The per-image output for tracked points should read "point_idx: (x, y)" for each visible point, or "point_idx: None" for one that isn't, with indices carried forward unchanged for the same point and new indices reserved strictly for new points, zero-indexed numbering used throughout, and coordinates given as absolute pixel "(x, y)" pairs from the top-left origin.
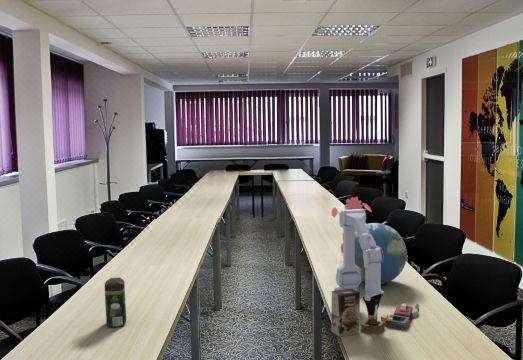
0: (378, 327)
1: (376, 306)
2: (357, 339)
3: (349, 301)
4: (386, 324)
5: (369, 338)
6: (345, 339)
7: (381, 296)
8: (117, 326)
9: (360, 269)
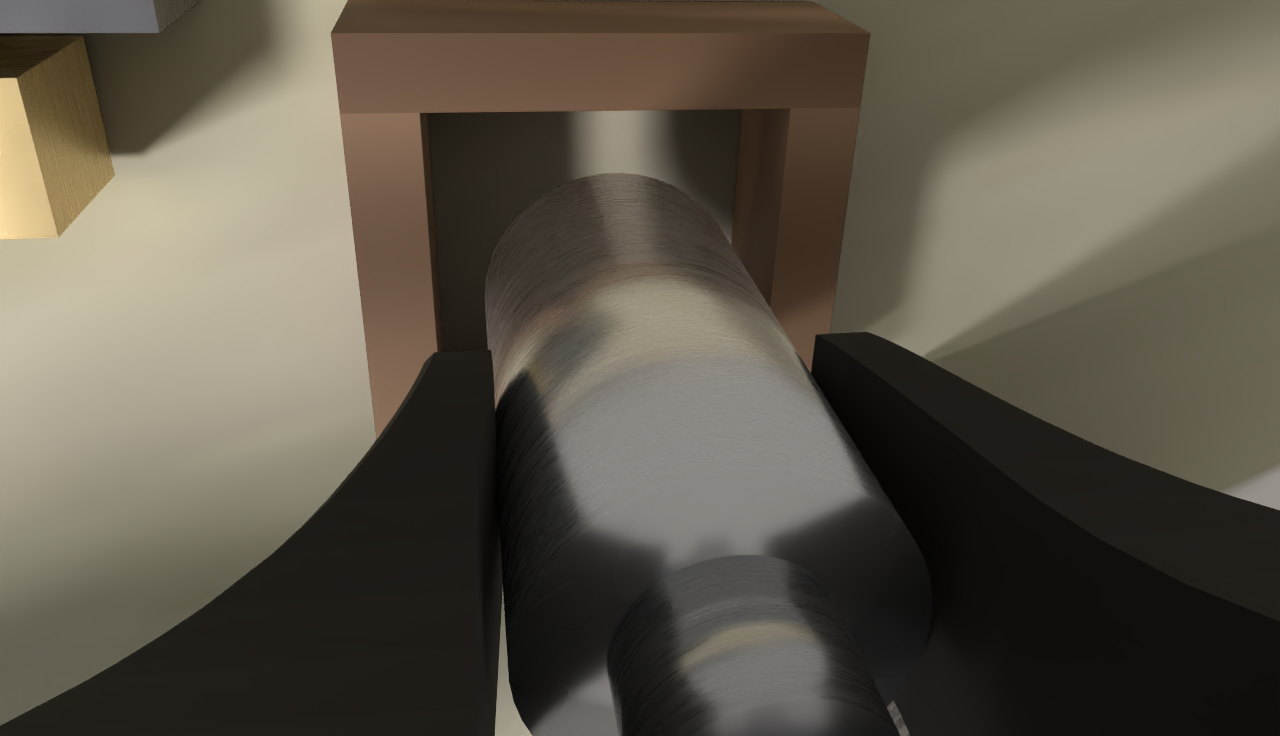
0: (863, 50)
1: (811, 457)
2: (1196, 303)
3: None
4: None
5: (1109, 118)
6: (1223, 465)
7: (358, 723)
8: None
9: None
